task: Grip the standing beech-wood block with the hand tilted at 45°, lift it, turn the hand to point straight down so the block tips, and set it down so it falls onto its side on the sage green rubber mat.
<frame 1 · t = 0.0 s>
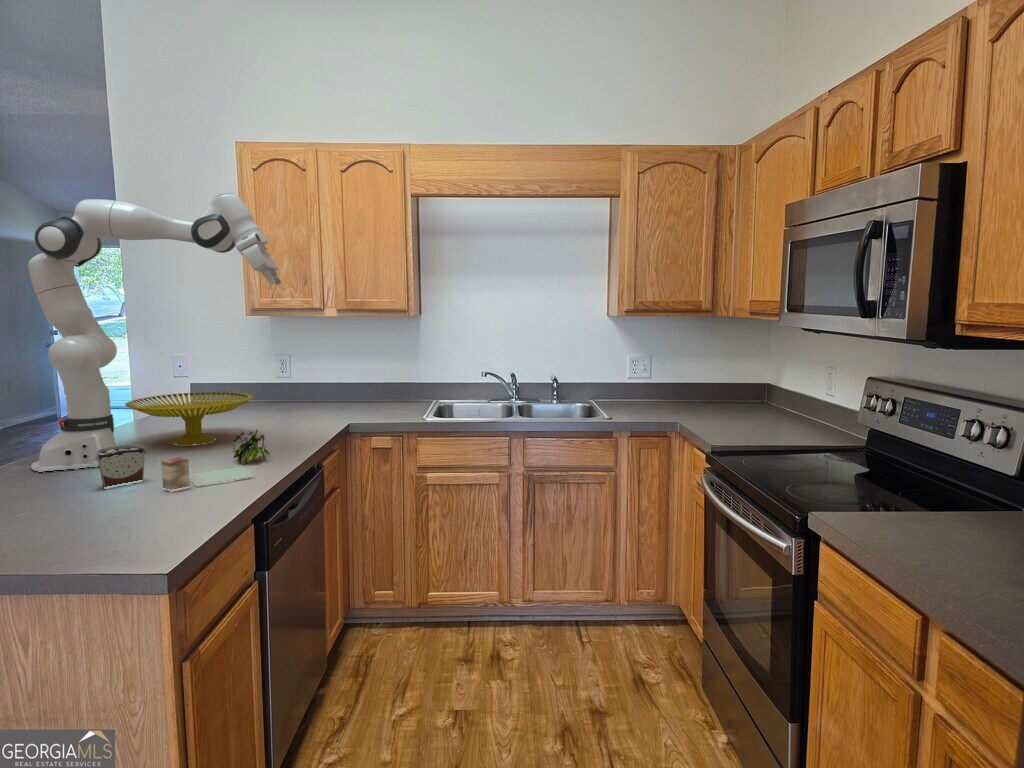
hand: (276, 283, 200), 54 cm above the worktop, tool tilted 30°, fingers open, 8 cm apart
sage mat: (220, 477, 180), on the worktop
food container: (120, 484, 174), on the worktop
passion flower: (252, 461, 200), on the worktop
cake stand: (194, 442, 226), on the worktop
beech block: (176, 489, 169), on the worktop
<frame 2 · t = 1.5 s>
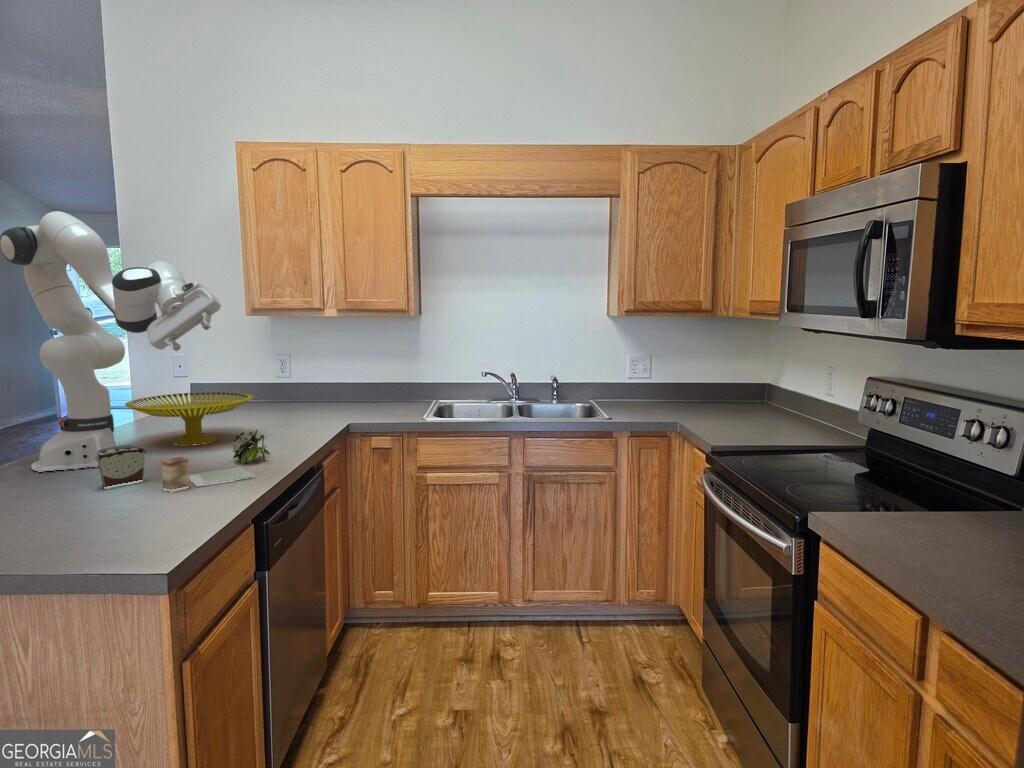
hand: (191, 338, 169), 39 cm above the worktop, tool tilted 50°, fingers open, 8 cm apart
nothing on the worktop moved.
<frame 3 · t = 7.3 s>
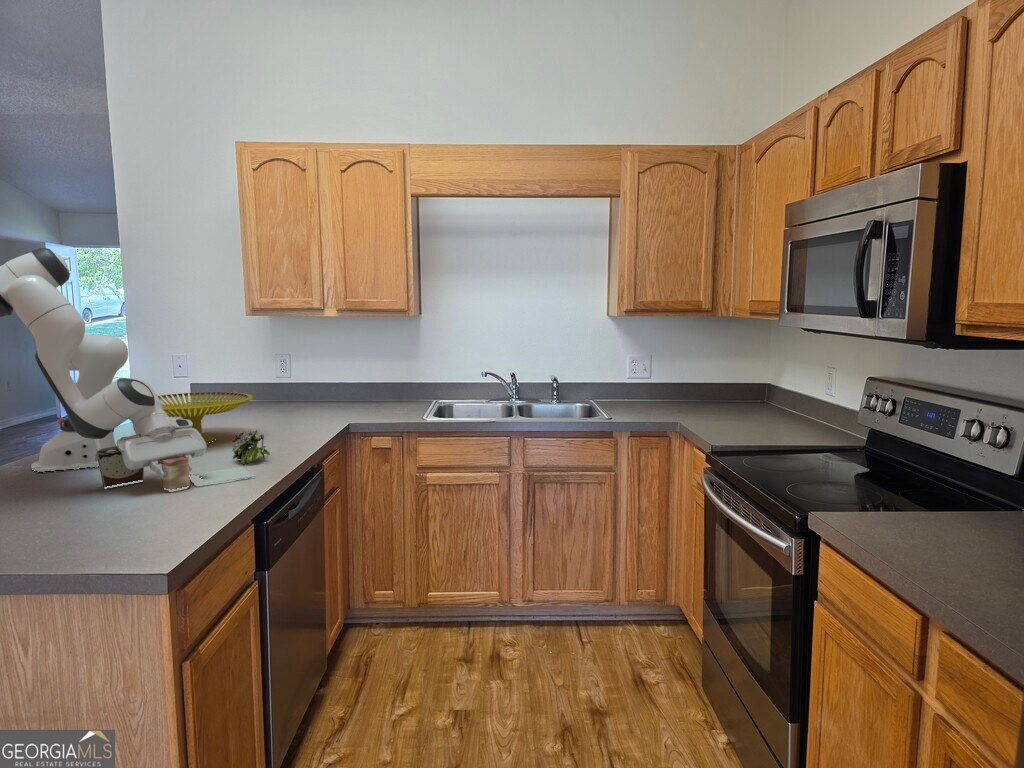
hand: (176, 473, 168), 4 cm above the worktop, tool tilted 45°, fingers closed on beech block, 5 cm apart
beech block: (176, 489, 169), on the worktop, touching gripper
everything else where it was.
when the fingers open (6 cm above the worktop, at t = 13.5 s): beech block moves 2 cm and tips over, resting on sage mat.
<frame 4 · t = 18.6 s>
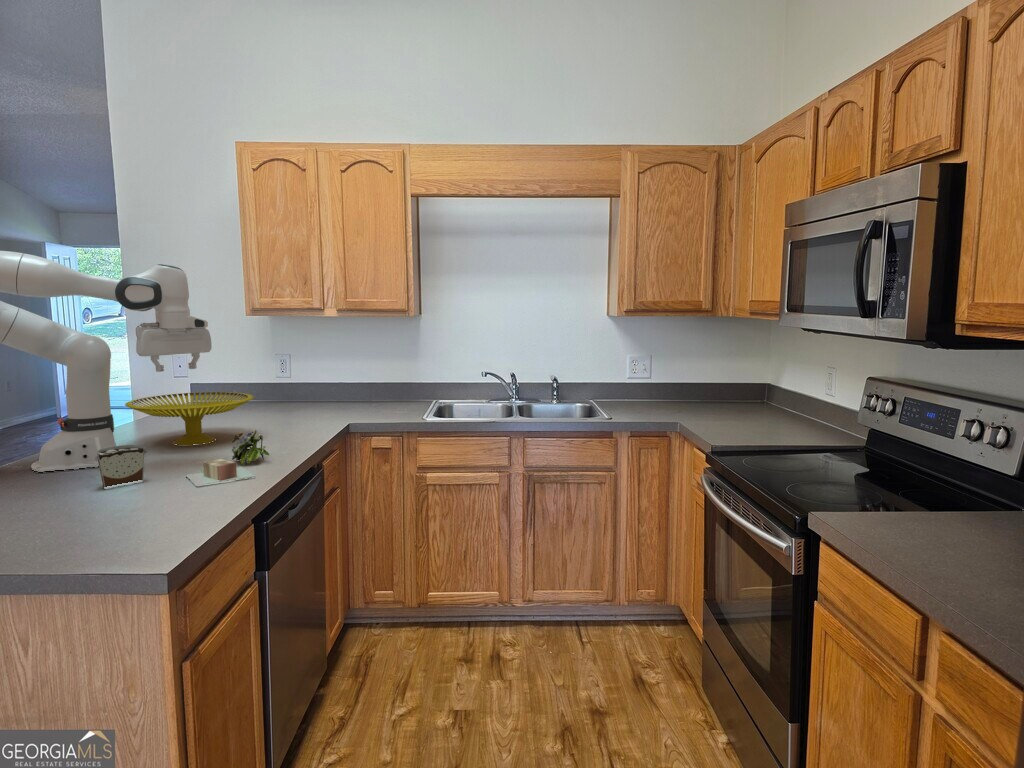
hand: (176, 370, 187), 29 cm above the worktop, tool pointing down, fingers open, 8 cm apart
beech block: (211, 467, 181), point 3 cm above the worktop, tilted 90°, touching sage mat
at the end: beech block tilted 90°; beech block inside the target area on the sage mat (3.2 cm from its centre), point 2.6 cm above the sage mat's base; the gripper is holding nothing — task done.
